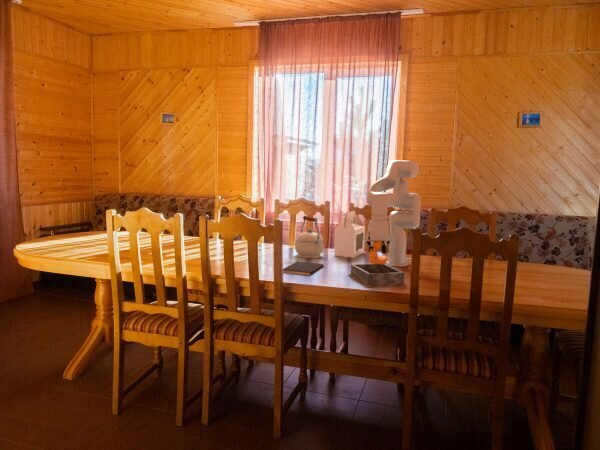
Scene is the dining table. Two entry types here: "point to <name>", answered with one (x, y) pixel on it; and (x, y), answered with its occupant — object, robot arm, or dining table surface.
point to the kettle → (309, 241)
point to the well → (377, 275)
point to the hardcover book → (303, 268)
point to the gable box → (349, 236)
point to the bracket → (373, 254)
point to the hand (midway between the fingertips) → (377, 253)
